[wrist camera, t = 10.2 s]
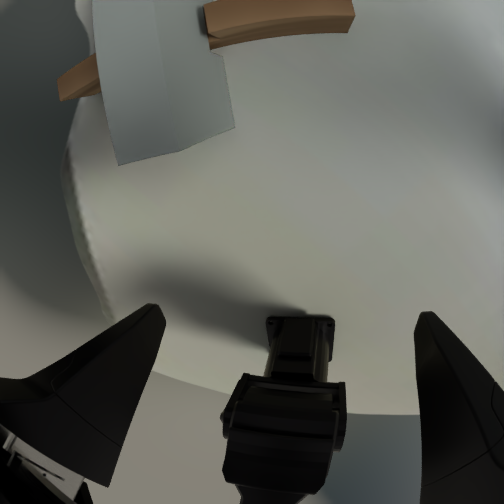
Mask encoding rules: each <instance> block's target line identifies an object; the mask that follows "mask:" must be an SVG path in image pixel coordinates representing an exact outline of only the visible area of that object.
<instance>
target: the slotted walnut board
mask: <svg viewBox="0 0 504 504" xmlns="http://www.w3.org/2000/svg"><path fill="white" fill-rule="evenodd" d="M203 5H204V11H205V16H204V19H205V25H206V30H207V36H208V42H209V48H210V50H211V49H215V48H219V47H223V46H228V45H232V44H237V43H242V42H247V41H253V40H259V39H265V38H272V37H280V36H289V35H300V34H315V33H348V31H349V28H350V26H351V24H352V22H353V20H354V17H355V12H354V8H353V4H352V0H217V1H214V2H210V3H207V4H203ZM57 84H58V92H59V98H60V101H65V100H70V99H74V98H80V97H86V96H91V95H95V94H97V93H99V92H101V85H100V79H99V72H98V65H97V58H96V53H94V54H93V55H91V56H90V57H88V58H87V59H85V60H83V61H82V62H80V63H79V64H77V65H76V66H74V67H73V68H72V69H70V70H69V71H68V72H66V73H65V74H63V75H62V76H61V77H59V78H58V79H57Z"/></svg>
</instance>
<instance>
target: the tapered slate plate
mask: <svg viewBox="0 0 504 504" xmlns="http://www.w3.org/2000/svg"><path fill="white" fill-rule="evenodd" d="M210 2H213V1H212V0H92V14H93V29H94V40H95V49H96V58H97V65H98V72H99V79H100V85H101V91H102V96H103V101H104V107H105V112H106V116H107V121H108V126H109V130H110V134H111V139H112V143H113V147H114V151H115V155H116V159H117V162H118V166H120V165H123V164H127V163H131V162H135V161H139V160H143V159H147V158H151V157H156V156H160V155H165V154H169V153H174V152H179V151H182V150H184V149H186V148H188V147H190V146H192V145H195V144H197V143H199V142H202V141H204V140H206V139H208V138H211V137H213V136H216V135H218V134H221V133H223V132H225V131H228V130H231V129H233V128H235V125H234V119H233V113H232V107H231V102H230V96H229V90H228V85H227V79H226V73H225V68H224V62H223V57H222V56H219V55H217V54H214V53H211V52H210V48H209V42H208V36H207V30H206V25H205V19H204V16H205V11H204V5H203V4H207V3H210Z"/></svg>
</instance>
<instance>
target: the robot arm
mask: <svg viewBox="0 0 504 504" xmlns="http://www.w3.org/2000/svg"><path fill="white" fill-rule="evenodd" d="M270 321H271V322H270ZM328 323H331V324H328ZM165 327H166V319H165V317H164V315H163V313H162V311H161V309H160V307H159V305H157V304H152V303H148V304H146V305H144V306H143V307H141V308H140V309H138V310H136V311H135V312H133V313H132V314H130V315H129V316H127V317H125V318H124V319H122V320H121V321H119V322H118V323H116V324H115V325H113V326H111V327H110V328H108V329H107V330H105V331H104V332H102V333H101V334H99V335H97V336H96V337H94V338H93V339H91V340H90V341H88V342H87V343H85V344H83V345H82V346H81V347H79V348H77V349H76V350H74V351H73V352H71V353H70V354H68V355H66V356H65V357H63V358H62V359H60V360H58V361H57V362H55V363H53V364H51V365H50V366H48V367H46V368H44V369H42V370H41V371H39V372H37V373H35V374H33V375H31V376H29V377H27V378H24V379H9V378H1V377H0V504H93V501H92V499H91V496H90V492H89V490H88V486H87V483H86V482H84V479H85V478H87V479H89V480H91V481H93V482H96V483H98V484H100V485H103V486H105V487H107V488H108V487H109V485H110V482H111V479H112V476H113V473H114V470H115V467H116V464H117V461H118V458H119V455H120V452H121V449H122V446H123V443H124V440H125V437H126V434H127V432H128V429H129V427H130V423H131V421H132V418H133V416H134V413H135V410H136V408H137V405H138V403H139V400H140V397H141V394H142V392H143V390H144V387H145V385H146V382H147V380H148V377H149V375H150V372H151V370H152V367H153V365H154V362H155V360H156V357H157V353H158V350H159V347H160V343H161V340H162V337H163V334H164V330H165ZM266 328H267V334H268V340H269V346H270V351H269V356H268V360H267V364H266V368H265V372H264V376H256V375H250V374H249V373H243V375H242V377H241V379H240V380H239V381H238V383H237V385H236V387H235V389H234V391H233V393H232V395H231V398H230V399H229V402H228V403H227V405H226V407H225V409H224V411H223V412H222V413H221V415H220V420H221V421H222V423H223V437H224V438H225V439H228V441H227V448H226V455H225V460H224V464H223V468H222V472H223V475H224V478H225V481H226V482H228V483H232V484H235V486H236V488H237V490H238V491H239V493H240V495H241V500H240V504H298V503H299V502H300V501H302V500H303V499H304V498H305V497H306V496H307V495H308V494H311V495H314V494H316V493H317V492H318V491H319V490H320V488H321V487H322V486H323V485H324V483H325V479H326V477H327V475H328V471H329V467H330V463H331V459H332V454H333V452H339V451H340V450H341V448H342V445H343V441H344V437H345V432H346V421H347V408H346V388H345V382H339V383H331V382H327V375H328V362H330V361H331V360H332V352H333V342H334V331H335V320H334V319H332V318H296V317H268V318H267V319H266ZM414 345H415V363H416V381H417V389H418V398H419V408H420V419H421V420H420V421H421V440H422V477H421V495H420V504H504V391H503V390H502V388H501V387H500V386H499V385H498V383H497V382H496V381H495V380H494V379H493V377H492V376H491V375H490V374H489V372H488V371H487V370H486V369H485V368H484V366H483V365H482V364H481V363H480V362H479V361H478V359H477V358H476V357H475V356H474V355H473V354H472V353H471V351H470V350H469V349H468V348H467V347H466V346H465V345H464V344H463V342H462V341H461V340H460V339H459V338H458V337H457V336H456V335H455V334H454V333H453V332H452V331H451V330H450V329H449V327H448V326H447V325H446V324H445V323H444V322H443V321H442V320H441V319H440V318H439V317H438V316H437V315H436V314H435V313H434V312H432V311H426V312H421V313H420V315H419V318H418V321H417V324H416V327H415V330H414Z"/></svg>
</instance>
